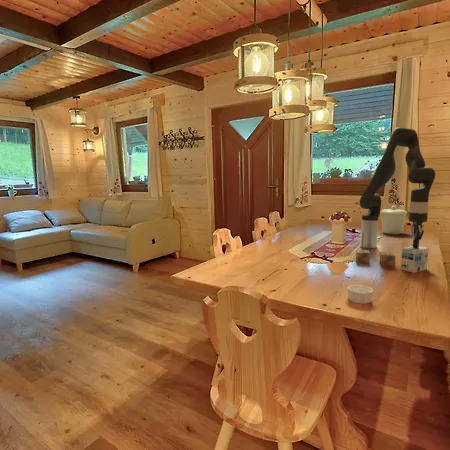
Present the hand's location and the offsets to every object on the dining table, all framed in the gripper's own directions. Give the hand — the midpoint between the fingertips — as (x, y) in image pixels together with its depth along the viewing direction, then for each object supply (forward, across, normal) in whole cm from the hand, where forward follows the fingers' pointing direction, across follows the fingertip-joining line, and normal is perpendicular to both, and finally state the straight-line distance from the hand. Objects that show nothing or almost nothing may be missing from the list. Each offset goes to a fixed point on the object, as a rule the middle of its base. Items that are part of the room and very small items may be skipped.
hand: (415, 247), depth 148 cm
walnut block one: (+11, -4, -11) cm, 16 cm away
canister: (+11, -94, +7) cm, 95 cm away
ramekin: (+11, +45, -28) cm, 54 cm away
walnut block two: (+11, -7, -22) cm, 26 cm away
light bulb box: (+11, 0, 0) cm, 11 cm away
